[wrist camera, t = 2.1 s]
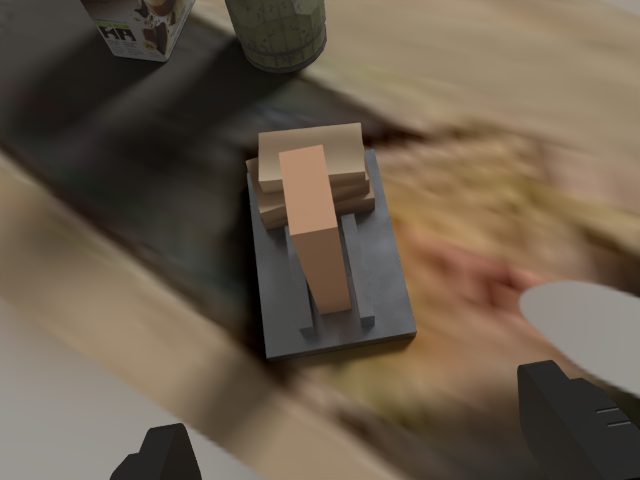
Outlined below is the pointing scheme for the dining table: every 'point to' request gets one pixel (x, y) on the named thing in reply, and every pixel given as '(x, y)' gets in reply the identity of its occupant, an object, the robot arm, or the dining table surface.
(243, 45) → the thermos
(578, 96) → the dining table surface
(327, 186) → the board
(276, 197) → the offcut pile
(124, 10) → the coffee box
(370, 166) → the rack
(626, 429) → the robot arm
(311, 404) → the dining table surface
